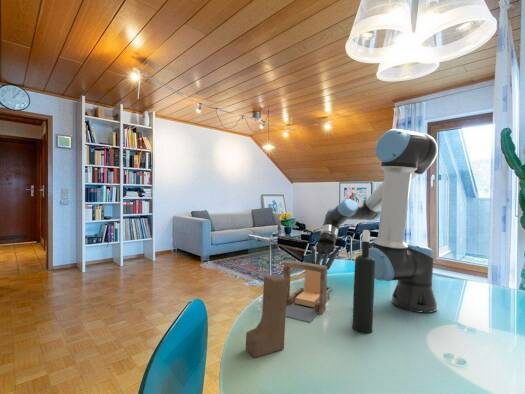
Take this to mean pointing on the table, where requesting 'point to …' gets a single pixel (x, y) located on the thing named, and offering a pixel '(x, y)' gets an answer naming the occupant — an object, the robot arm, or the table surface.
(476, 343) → the table surface
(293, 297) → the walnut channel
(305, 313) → the felt mat
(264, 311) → the wooden block
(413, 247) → the robot arm
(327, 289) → the pad
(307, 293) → the tan l-shaped block
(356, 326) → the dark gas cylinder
